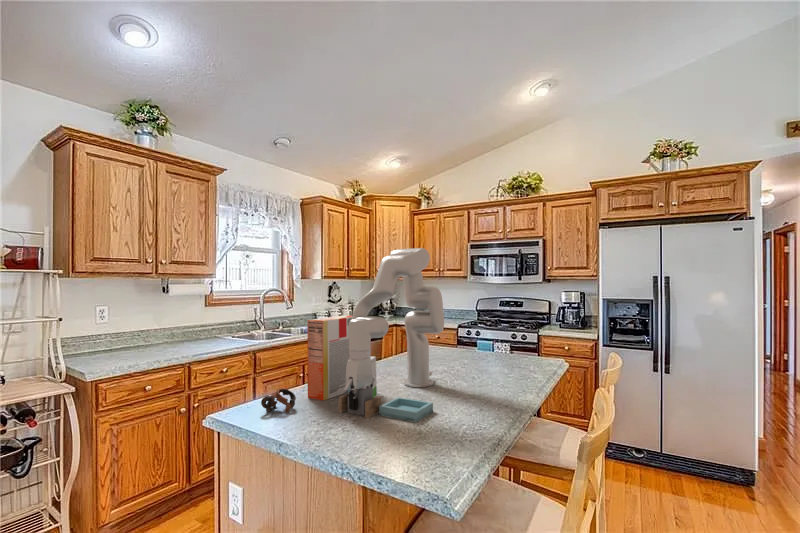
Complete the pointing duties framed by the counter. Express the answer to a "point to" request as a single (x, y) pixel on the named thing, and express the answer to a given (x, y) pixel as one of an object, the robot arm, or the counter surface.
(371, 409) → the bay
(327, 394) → the cereal box
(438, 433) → the counter surface
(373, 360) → the skincare box
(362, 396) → the grey rectangular block
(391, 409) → the tray
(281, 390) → the brown looped piece
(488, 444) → the counter surface
